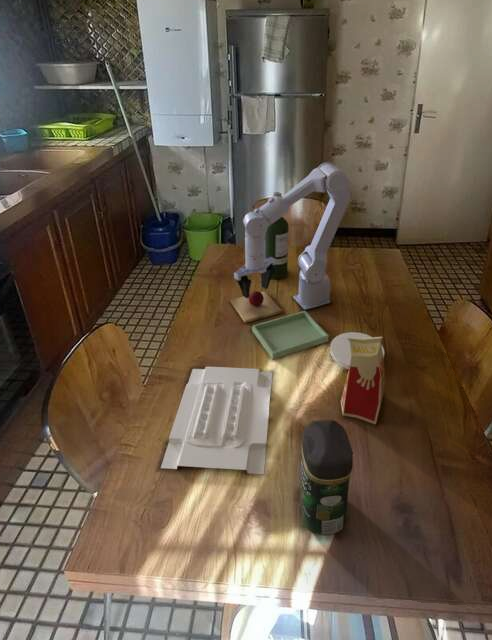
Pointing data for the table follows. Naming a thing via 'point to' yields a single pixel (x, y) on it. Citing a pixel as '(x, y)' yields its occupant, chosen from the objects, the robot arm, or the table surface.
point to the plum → (256, 298)
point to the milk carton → (364, 380)
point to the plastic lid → (344, 348)
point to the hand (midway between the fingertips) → (255, 292)
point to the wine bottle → (277, 245)
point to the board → (255, 308)
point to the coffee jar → (325, 476)
